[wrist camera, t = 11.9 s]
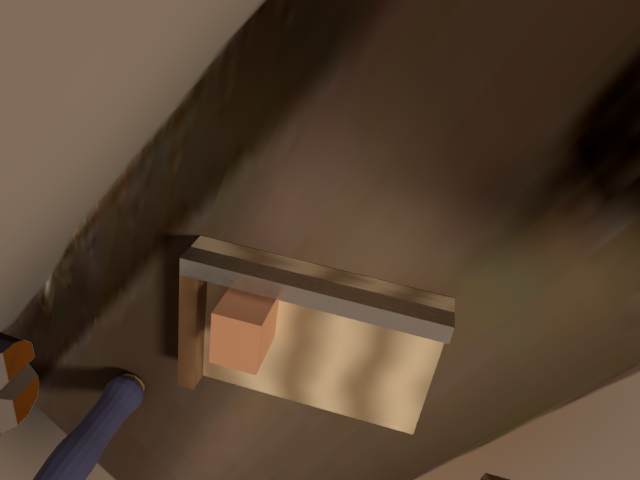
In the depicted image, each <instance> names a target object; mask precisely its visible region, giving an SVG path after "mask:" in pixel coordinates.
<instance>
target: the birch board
mask: <svg viewBox="0 0 640 480" xmlns="http://www.w3.org/2000/svg"><path fill="white" fill-rule="evenodd" d="M191 247H195V248H199V249H203V250H207V251H211V252H215V253H219V254H223V255H227V256H231V257H235V258H239V259H243V260H247V261H251V262H255V263H259V264H263V265H267V266H271V267H275V268H279V269H283V270H287V271H291V272H295V273H299V274H303V275H307V276H311V277H315V278H319V279H323V280H327V281H331V282H335V283H339V284H343V285H347V286H351V287H355V288H359V289H363V290H367V291H371V292H375V293H379V294H383V295H387V296H391V297H395V298H399V299H403V300H407V301H411V302H415V303H419V304H423V305H427V306H431V307H435V308H439V309H443V310H447V311H451V312H455V298H451V297H447V296H443V295H439V294H435V293H431V292H427V291H423V290H419V289H415V288H411V287H407V286H403V285H399V284H395V283H390V282H386V281H382V280H378V279H374V278H370V277H366V276H362V275H358V274H354V273H350V272H346V271H342V270H338V269H334V268H330V267H326V266H322V265H318V264H314V263H310V262H306V261H302V260H297V259H293V258H289V257H285V256H281V255H277V254H273V253H269V252H265V251H261V250H257V249H253V248H249V247H245V246H241V245H237V244H233V243H229V242H225V241H221V240H217V239H213V238H209V237H205V236H200V237H199V238H198V239H197V240H196V241H195V242H194V243H193V244H192V245H191ZM228 289H229V287H226V286H222V285H218V284H214V283H210V282H206V281H202V280H199V279H195V278H191V277H187V276H183V275H179V331H178V385H179V386H182V387H186V388H189V389H193V390H194V389H195V387H196V385H197V384H198V382H199V380H200V379H201V377H202V376H203V375H204V376H207V377H211V378H214V379H218V380H221V381H225V382H229V383H232V384H236V385H239V386H243V387H246V388H250V389H253V390H257V391H260V392H264V393H267V394H271V395H275V396H278V397H282V398H285V399H289V400H292V401H296V402H299V403H303V404H306V405H310V406H313V407H317V408H321V409H324V410H328V411H331V412H335V413H338V414H342V415H345V416H349V417H352V418H356V419H359V420H363V421H367V422H370V423H374V424H377V425H381V426H384V427H388V428H391V429H395V430H398V431H402V432H405V433H409V434H413V433H414V430H415V427H416V424H417V422H418V419H419V416H420V413H421V410H422V407H423V404H424V401H425V398H426V395H427V392H428V389H429V386H430V383H431V380H432V377H433V375H434V372H435V369H436V366H437V363H438V360H439V357H440V354H441V351H442V348H443V345H444V343H442V342H438V341H434V340H431V339H427V338H423V337H419V336H415V335H411V334H407V333H403V332H400V331H396V330H392V329H388V328H384V327H380V326H376V325H373V324H369V323H365V322H361V321H357V320H353V319H349V318H345V317H342V316H338V315H334V314H330V313H326V312H322V311H318V310H315V309H311V308H307V307H303V306H299V305H295V304H291V303H287V302H284V301H280V300H279V308H278V315H277V323H276V330H275V337H274V339H273V341H272V343H271V346H270V348H269V350H268V352H267V354H266V356H265V358H264V360H263V362H262V364H261V366H260V368H259V370H258V373H257V375H252V374H249V373H245V372H242V371H238V370H234V369H231V368H227V367H224V366H220V365H217V364H213V363H209V350H210V331H211V313H212V312H213V310H214V309H215V307H216V306H217V304H218V303H219V302H220V300H221V299H222V297H223V296H224V294H225V293H226V292H227V290H228Z"/></svg>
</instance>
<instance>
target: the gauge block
mask: <svg viewBox="0 0 640 480" xmlns="http://www.w3.org/2000/svg"><path fill="white" fill-rule="evenodd" d="M278 308H279V300H276V299H272V298H268V297H264V296H260V295H257V294H253V293H249V292H245V291H241V290H237V289H233V288H230V287H229V289H228V290H227V292H226V293H225V294H224V296H223V297H222V299H221V300H220V302H219V303H218V304H217V306H216V307H215V309H214V310H213V312H212V313H211V331H210V350H209V363H213V364H217V365H220V366H224V367H227V368H231V369H234V370H238V371H242V372H245V373H249V374H252V375H257V373H258V370H259V368H260V366H261V364H262V362H263V360H264V358H265V356H266V354H267V352H268V350H269V348H270V346H271V343H272V341H273V339H274V337H275V330H276V323H277V315H278Z"/></svg>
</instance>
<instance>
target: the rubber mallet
mask: <svg viewBox="0 0 640 480" xmlns="http://www.w3.org/2000/svg"><path fill="white" fill-rule="evenodd" d="M144 390H145V389H144V384H143V382H142V381H141V380H140V379H139V378H138V377H137V376H135V375H132V374H124V375H121V376H117V377H115V378H113V379H112V380H111V381H109V382H108V384H107V385H106V386H105V389H104V391H103V393H102V395H101V397H100V399H99V400H98V402H97V403H96V404H95V405H94V406H93V408H92V409H91V410H90V411H89V413H88V414H87V415H86V416H85V418H84V419H83V420H82V421H81V423H80V424H79V425H78V426H77V427H76V428H75V429H74V430H73V431H72V432H71V433H70V434H69V435H68V436H67V437H66V438H65V439H63V440H62V442H61V443H60V444H59V445H58V446H57V447H56V448H55V450H54V451H53V452H52V453H51V455H50V456H49V457H48V459H47V460H46V461H45V463H44V464H43V466H42V467H41V469H40V470H39V471H38V473H37V474H36V476H35V477H34V479H33V480H85V479H86V478H87V476H88V475H89V474H90V472H91V471H92V469H93V468H94V467H95V465H96V464H97V462H98V460H99V458H100V456H101V454H102V453H103V451H104V449H105V447H106V445H107V444H108V442H109V441H110V440H111V438H112V437H113V435H114V434H115V433H116V431H117V430H118V429H119V427H120V426H121V425H122V423H123V422H124V420H125V419H126V418H127V417H128V416H129V415H130V414H131V413H132V412H133V411H135V410H136V409H137V408H138V407H139V406H140V404H141V403H142V400H143V396H144V392H143V391H144Z"/></svg>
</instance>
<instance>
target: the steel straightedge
mask: <svg viewBox="0 0 640 480" xmlns="http://www.w3.org/2000/svg"><path fill="white" fill-rule="evenodd" d="M179 275H183V276H187V277H191V278H195V279H199V280H202V281H206V282H210V283H214V284H218V285H222V286H226V287H230V288H233V289H237V290H241V291H245V292H249V293H253V294H257V295H260V296H264V297H268V298H272V299H276V300H280V301H284V302H287V303H291V304H295V305H299V306H303V307H307V308H311V309H315V310H318V311H322V312H326V313H330V314H334V315H338V316H342V317H345V318H349V319H353V320H357V321H361V322H365V323H369V324H373V325H376V326H380V327H384V328H388V329H392V330H396V331H400V332H403V333H407V334H411V335H415V336H419V337H423V338H427V339H431V340H434V341H438V342H442V343H446V344H449V343H450V340H451V337H452V334H453V331H454V328H455V312H451V311H447V310H443V309H439V308H435V307H431V306H427V305H423V304H419V303H415V302H411V301H407V300H403V299H399V298H395V297H391V296H387V295H383V294H379V293H375V292H371V291H367V290H363V289H359V288H355V287H351V286H347V285H343V284H339V283H335V282H331V281H327V280H323V279H319V278H315V277H311V276H307V275H303V274H299V273H295V272H291V271H287V270H283V269H279V268H275V267H271V266H267V265H263V264H259V263H255V262H251V261H247V260H243V259H239V258H235V257H231V256H227V255H223V254H219V253H215V252H211V251H207V250H203V249H199V248H195V247H191V246H190V247H189V248H188V250H187V251H186V252H185V253H184V254H183V255H182V256H181V257H180V268H179Z"/></svg>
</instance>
